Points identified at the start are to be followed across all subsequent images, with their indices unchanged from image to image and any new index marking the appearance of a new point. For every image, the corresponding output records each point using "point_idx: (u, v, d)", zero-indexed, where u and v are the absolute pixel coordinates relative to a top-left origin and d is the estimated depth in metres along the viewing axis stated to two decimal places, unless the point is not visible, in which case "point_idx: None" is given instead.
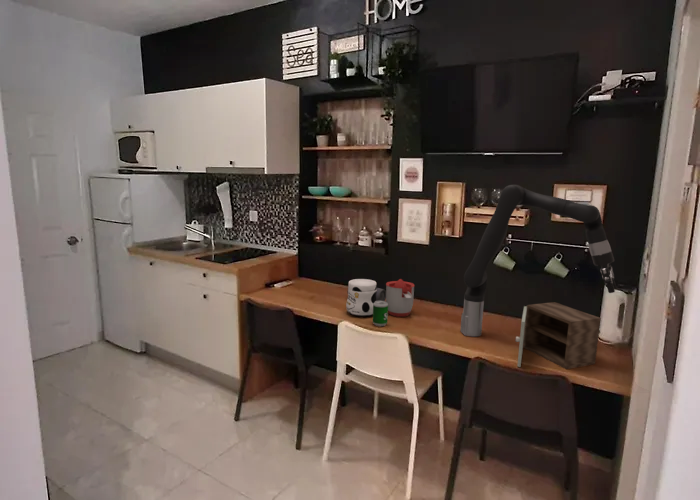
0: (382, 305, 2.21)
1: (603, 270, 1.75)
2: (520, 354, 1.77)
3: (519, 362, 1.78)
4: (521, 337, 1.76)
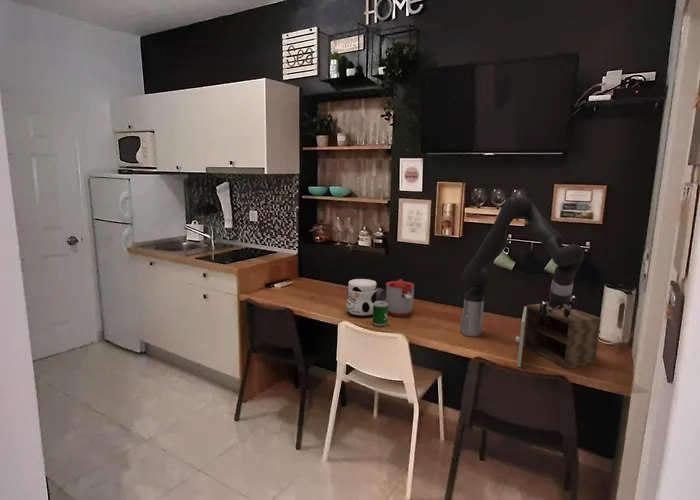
0: (382, 305, 2.21)
1: (542, 303, 1.75)
2: (520, 354, 1.77)
3: (519, 362, 1.78)
4: (521, 337, 1.76)
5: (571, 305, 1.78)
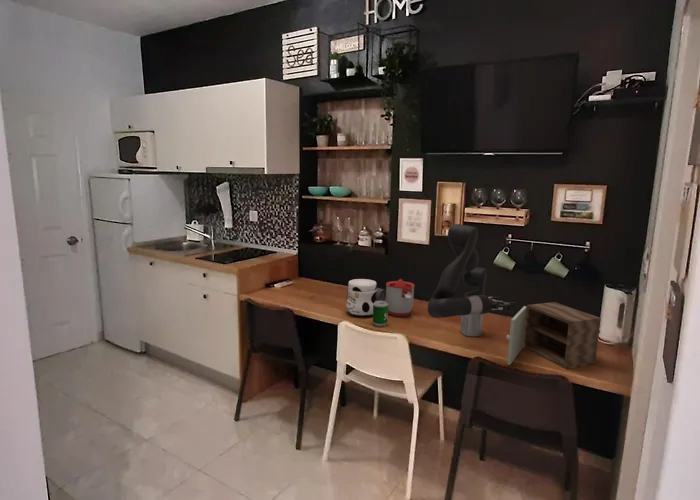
0: (382, 305, 2.21)
1: None
2: (510, 352, 1.79)
3: (509, 360, 1.80)
4: (511, 335, 1.78)
5: (507, 306, 1.72)
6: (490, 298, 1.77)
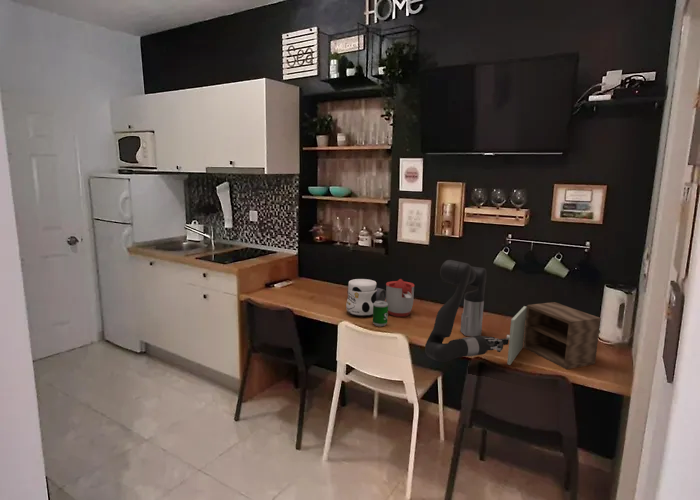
0: (382, 305, 2.21)
1: None
2: (510, 352, 1.79)
3: (509, 360, 1.80)
4: (511, 335, 1.78)
5: None
6: (488, 339, 1.80)
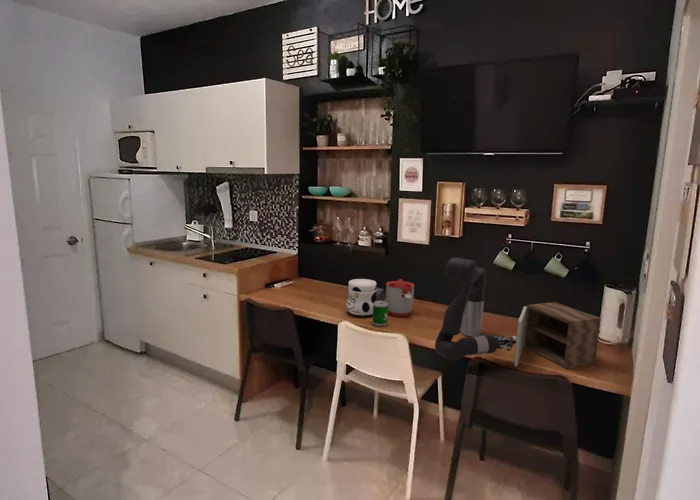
0: (382, 305, 2.21)
1: None
2: (517, 353, 1.78)
3: (516, 361, 1.78)
4: (518, 336, 1.77)
5: None
6: (498, 338, 1.81)
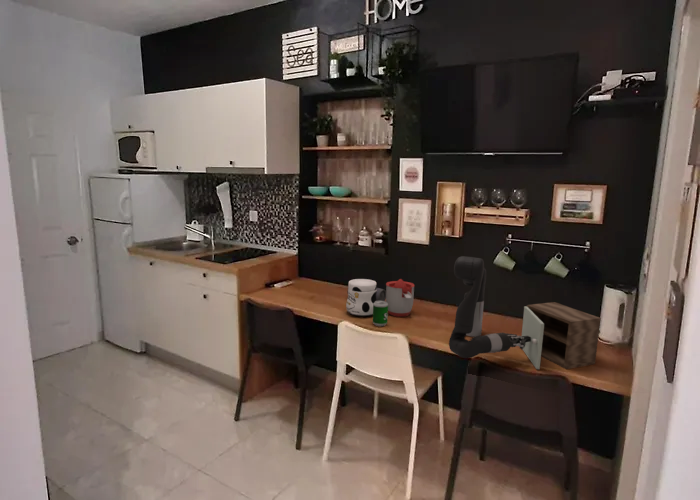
0: (382, 305, 2.21)
1: None
2: (539, 356, 1.76)
3: (538, 364, 1.76)
4: (540, 339, 1.74)
5: (522, 341, 1.82)
6: (511, 336, 1.84)
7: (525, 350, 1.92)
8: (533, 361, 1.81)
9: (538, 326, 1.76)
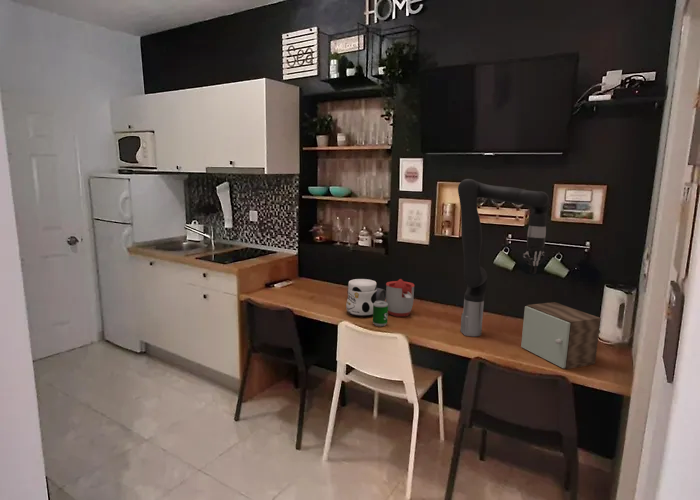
0: (382, 305, 2.21)
1: (523, 255, 1.98)
2: (565, 355, 1.77)
3: (564, 363, 1.78)
4: (567, 338, 1.76)
5: None
6: None
7: (533, 350, 1.92)
8: (555, 361, 1.82)
9: (562, 325, 1.77)
